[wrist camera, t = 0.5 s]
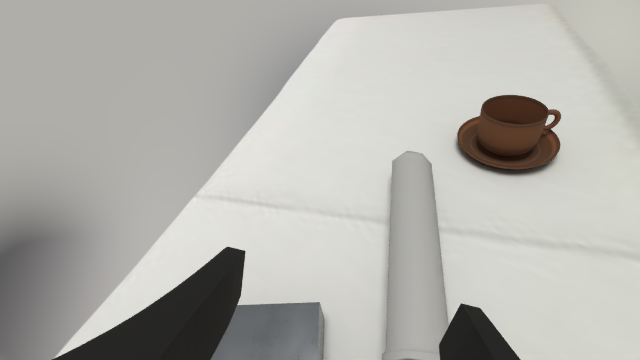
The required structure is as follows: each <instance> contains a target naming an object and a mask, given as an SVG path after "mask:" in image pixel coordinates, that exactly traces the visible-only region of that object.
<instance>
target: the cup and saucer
mask: <svg viewBox="0 0 640 360" xmlns="http://www.w3.org/2000/svg"><path fill="white" fill-rule="evenodd" d="M548 115H554V116H555V119H554V121H553V122H552V123H551V124H549V125H547V126H545V123H546V121H547V118H548ZM560 119H561V114H560V112H559V111H557V110H548V108H547V107H546V106H545V105H544V104H543V103H541V102H539V101H537V100H535V99H532V98H529V97H525V96H518V95H502V96H496V97H493V98H490V99H488V100H487V101H485V102H484V103H483V105H482V108H481V114H480V116H478V117H475V118H473V119H470V120H468V121H467V122H465V123H464V124H463V125H462V126H461V127H460V128H459V130H458V142H459V145H460V146H461V148H462V149H463V150H464V151H465V152H466V153H467V154H468V155H470V156H471V157H472V158H474V159H476V160H477V161H479V162H482V163H484V164H487V165H490V166H493V167H498V168H503V169H527V168H533V167H537V166H540V165H543V164H545V163H547V162H549V161H550V160H552V159H553V158H554V157H555V156H556V155H557V153H558V152H559V149H560V141H559V138H558V137H557V135H556V134H555V133H554V132H553V131H552V130H551V128H553V127H554V126H556V125H557V124H558V122H559V121H560Z"/></svg>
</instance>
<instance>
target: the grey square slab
mask: <svg viewBox="0 0 640 360" xmlns="http://www.w3.org/2000/svg"><path fill="white" fill-rule="evenodd" d="M323 345H324V316H323V313H322V309H321V305H320V302H315V303H287V304H260V305H237V306H236V309H235V312H234V314H233V316H232V319H231V321H230V324H229V326H228V328H227V330H226V332H225V334H224V335H223V337H222V339H221V341H220V343H219V345H218V347H217V349H216V351H215V352H214V354H213V356H212V358H211V360H323Z"/></svg>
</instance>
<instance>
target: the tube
mask: <svg viewBox="0 0 640 360" xmlns="http://www.w3.org/2000/svg"><path fill="white" fill-rule="evenodd" d="M448 327H449V325H448V316H447V306H446V297H445V288H444V278H443V269H442V259H441V250H440V240H439V231H438V221H437V212H436V202H435V193H434V183H433V174H432V165H431V163H430V162H429V161H428V159H427V158H426V157H425V156H424V155H423V154H422V153H417V152H411V151H406V152H405V153H403V154H402V155H400V156H399V157H397V158H396V159H394V160H393V161H392V187H391V215H390V243H389V271H388V299H387V327H386V350H385V353H384V354H382V360H440V354H439V344H440V342H441V340H442V338H443V336H444V334H445V332H446V331H447V329H448Z"/></svg>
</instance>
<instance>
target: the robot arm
mask: <svg viewBox="0 0 640 360" xmlns="http://www.w3.org/2000/svg"><path fill="white" fill-rule="evenodd" d="M244 260H245V251H243V250H239V249H235V248H231V247H226V248H225V249H223V250H222V251H221V252H220V253H219V254H217V255H216V256H215V257H214V258H213V259H211V260H210V261H209V262H208V263H207V264H205V265H204V266H203V267H202V268H200V269H199V270H198V271H197V272H195V273H194V274H193V275H191V276H190V277H189V278H188V279H186V280H185V281H184V282H182V283H181V284H180V285H178V286H177V287H176V288H174V289H173V290H171V291H170V292H169V293H167V294H166V295H164V296H163V297H161V298H160V299H158V300H157V301H155V302H154V303H153V304H151V305H150V306H148V307H147V308H145V309H143V310H142V311H140V312H139V313H137V314H136V315H134V316H132V317H131V318H129V319H127V320H126V321H124V322H122V323H121V324H119V325H117V326H116V327H114V328H112V329H110V330H109V331H107V332H105V333H103V334H101V335H99V336H98V337H96V338H94V339H92V340H90V341H88V342H87V343H85V344H83V345H81V346H79V347H77V348H75V349H73V350H71V351H69V352H67V353H65V354H63V355H61V356H59V357H57V358H55V359H52V360H211V358H212V356H213V354H214V352H215V351H216V349H217V347H218V345H219V343H220V341H221V339H222V337H223V335H224V334H225V332H226V330H227V328H228V326H229V324H230V321H231V319H232V316H233V314H234V312H235V309H236V306H237V304H238V301H239V299H240V296H241V288H242V279H243V269H244ZM439 354H440V360H520V359H519V357H518V356H517V355H516V353H515V352H514V351H513V350H512V348H511V347H510V346H509V344H508V343H507V342H506V341H505V339H504V338H503V337H502V335H501V334H500V333H499V331H498V330H497V329H496V328H495V326H494V325H493V324H492V322H491V321H490V320H489V319H488V317H487V316H486V315H485V314H484V312H483V311H482V310H481V309H480V308H477V307H473V306H469V305H465V304H461V305H460V306H459V308H458V310H457V312H456V314H455V316H454V318H453V319H452V321H451V323H450V325H449V327H448V329H447V331H446V332H445V334H444V336H443V338H442V340H441V342H440V344H439Z"/></svg>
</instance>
